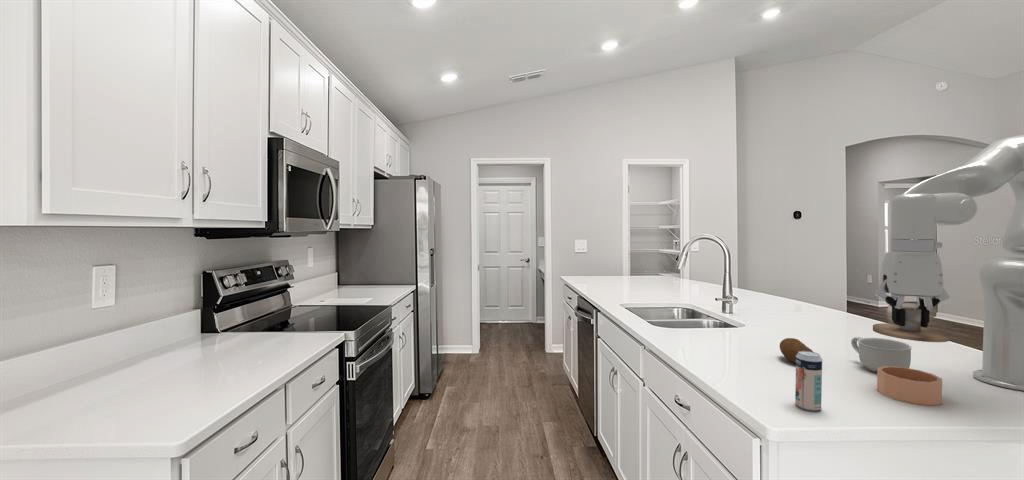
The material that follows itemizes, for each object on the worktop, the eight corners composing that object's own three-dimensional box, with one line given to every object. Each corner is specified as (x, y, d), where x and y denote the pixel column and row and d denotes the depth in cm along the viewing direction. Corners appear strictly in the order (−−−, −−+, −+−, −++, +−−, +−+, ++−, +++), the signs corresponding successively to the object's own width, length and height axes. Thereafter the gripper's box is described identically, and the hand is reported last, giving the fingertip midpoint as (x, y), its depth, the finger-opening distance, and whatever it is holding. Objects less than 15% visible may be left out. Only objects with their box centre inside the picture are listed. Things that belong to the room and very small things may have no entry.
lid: (925, 329, 100) (926, 305, 100) (966, 344, 87) (967, 316, 87) (861, 325, 104) (862, 302, 103) (892, 339, 91) (893, 312, 91)
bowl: (921, 388, 100) (922, 368, 99) (954, 407, 89) (955, 385, 89) (868, 384, 103) (868, 364, 103) (893, 401, 92) (894, 380, 92)
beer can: (796, 400, 93) (796, 348, 93) (822, 406, 90) (823, 352, 90) (793, 408, 90) (794, 354, 89) (821, 414, 87) (822, 358, 86)
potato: (800, 370, 113) (801, 345, 113) (769, 357, 124) (769, 334, 124) (822, 368, 114) (823, 344, 114) (789, 355, 125) (789, 333, 125)
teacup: (922, 378, 106) (923, 348, 106) (880, 378, 106) (881, 348, 106) (876, 361, 120) (876, 334, 120) (838, 361, 120) (839, 334, 120)
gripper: (945, 246, 96) (943, 324, 97) (860, 246, 101) (858, 319, 101) (970, 248, 89) (967, 332, 89) (877, 247, 94) (875, 326, 94)
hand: (909, 324), depth 95 cm, fingers closed on lid, 3 cm apart
